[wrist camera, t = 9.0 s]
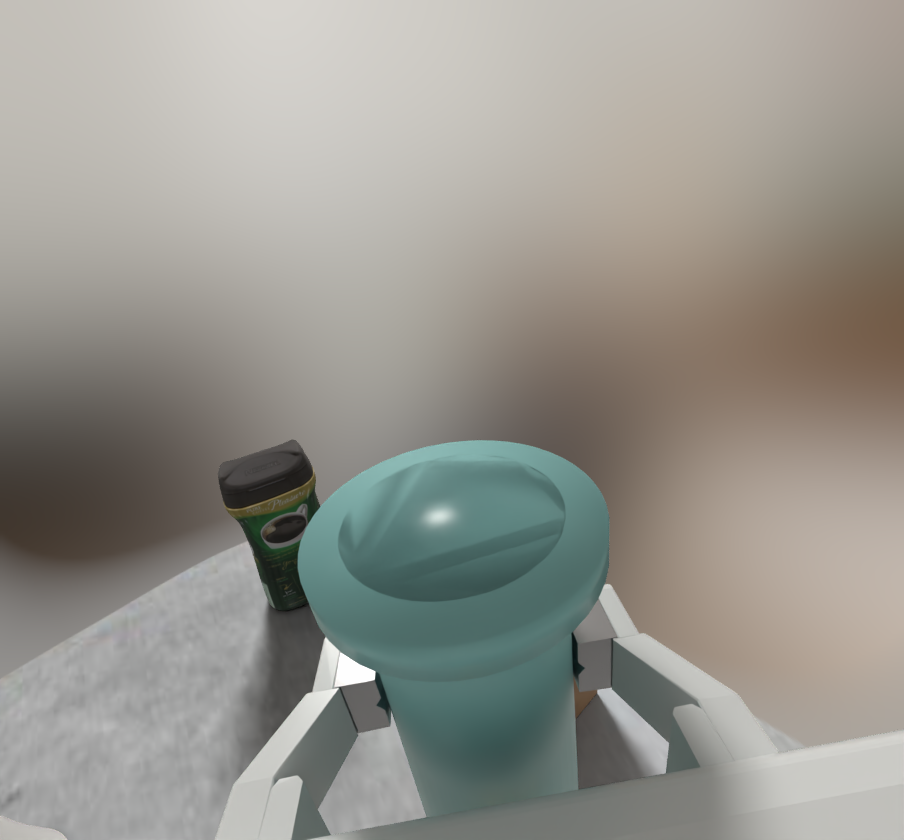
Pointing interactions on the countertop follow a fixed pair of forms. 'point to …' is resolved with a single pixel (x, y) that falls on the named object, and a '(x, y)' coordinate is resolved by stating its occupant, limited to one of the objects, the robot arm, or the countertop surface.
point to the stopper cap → (466, 609)
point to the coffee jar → (273, 514)
